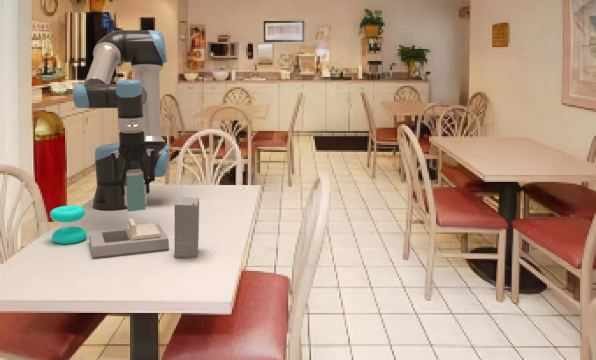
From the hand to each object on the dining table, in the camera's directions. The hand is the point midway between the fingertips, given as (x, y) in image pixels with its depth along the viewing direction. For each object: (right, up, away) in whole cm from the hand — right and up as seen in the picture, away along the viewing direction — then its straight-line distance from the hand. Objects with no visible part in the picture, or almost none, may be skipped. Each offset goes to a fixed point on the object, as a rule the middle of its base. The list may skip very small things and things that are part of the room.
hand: (135, 204), depth 195 cm
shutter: (+5, -8, -10) cm, 14 cm away
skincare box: (+20, -14, -17) cm, 29 cm away
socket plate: (+1, -12, -11) cm, 16 cm away
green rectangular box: (0, -1, 0) cm, 1 cm away
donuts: (-19, -11, -5) cm, 22 cm away
